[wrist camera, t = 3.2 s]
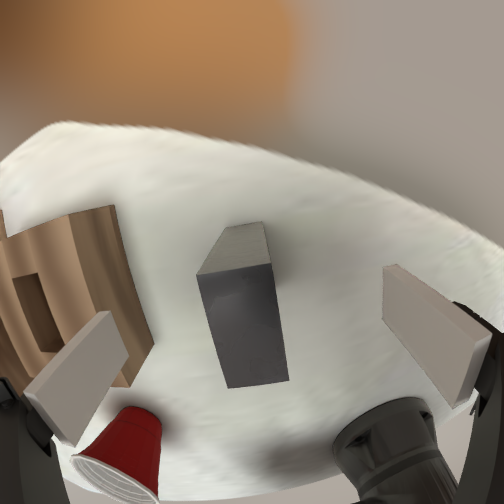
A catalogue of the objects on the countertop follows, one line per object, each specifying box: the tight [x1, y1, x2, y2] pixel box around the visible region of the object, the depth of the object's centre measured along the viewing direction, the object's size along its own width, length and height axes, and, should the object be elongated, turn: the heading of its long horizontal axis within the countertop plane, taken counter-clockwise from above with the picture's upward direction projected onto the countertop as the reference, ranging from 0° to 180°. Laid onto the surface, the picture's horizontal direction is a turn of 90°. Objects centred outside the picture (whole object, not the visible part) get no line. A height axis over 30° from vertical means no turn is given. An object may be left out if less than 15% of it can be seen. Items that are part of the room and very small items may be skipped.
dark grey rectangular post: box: [196, 221, 289, 389], centre depth 17 cm, size 3×6×12 cm, turn 10°
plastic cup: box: [70, 406, 162, 504], centre depth 23 cm, size 11×11×12 cm
